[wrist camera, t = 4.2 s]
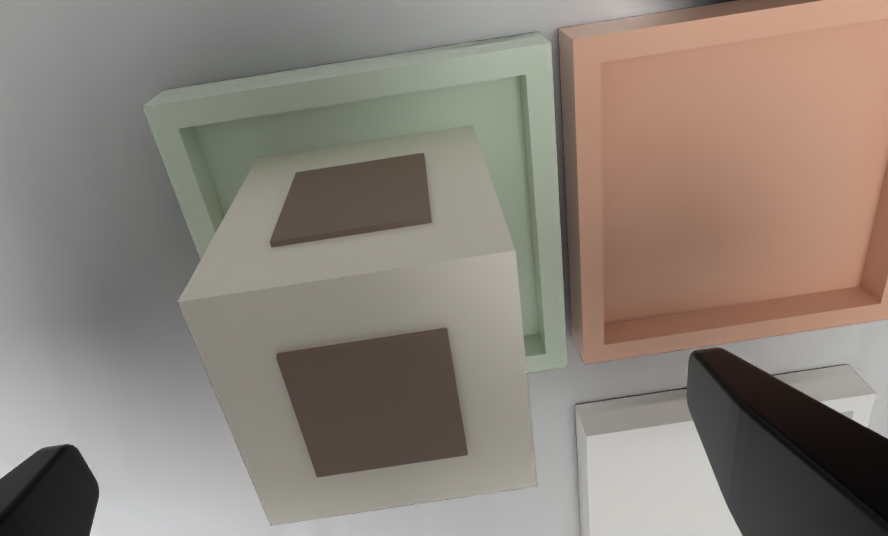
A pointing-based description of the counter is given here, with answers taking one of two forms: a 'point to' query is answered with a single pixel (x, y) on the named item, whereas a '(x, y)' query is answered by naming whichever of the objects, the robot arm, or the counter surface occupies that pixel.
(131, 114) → the counter surface
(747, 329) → the tray terracotta
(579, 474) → the tray grey
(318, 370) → the letter block
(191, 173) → the tray sage
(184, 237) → the counter surface
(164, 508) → the counter surface
